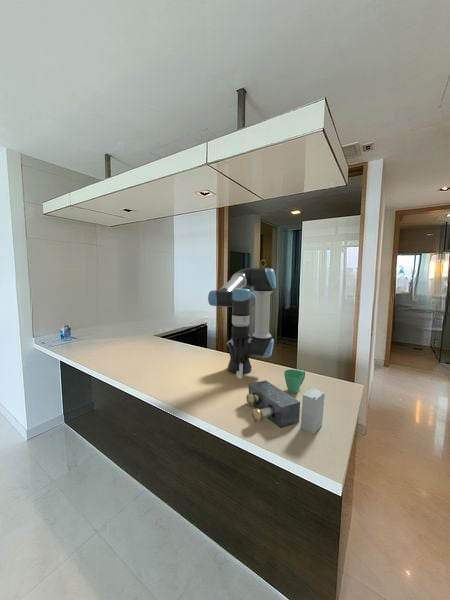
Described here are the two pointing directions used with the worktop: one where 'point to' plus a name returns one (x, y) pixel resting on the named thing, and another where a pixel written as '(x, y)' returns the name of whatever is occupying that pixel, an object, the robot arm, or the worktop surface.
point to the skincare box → (312, 410)
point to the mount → (276, 403)
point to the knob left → (252, 399)
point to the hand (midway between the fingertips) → (239, 377)
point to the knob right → (262, 413)
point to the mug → (294, 379)
